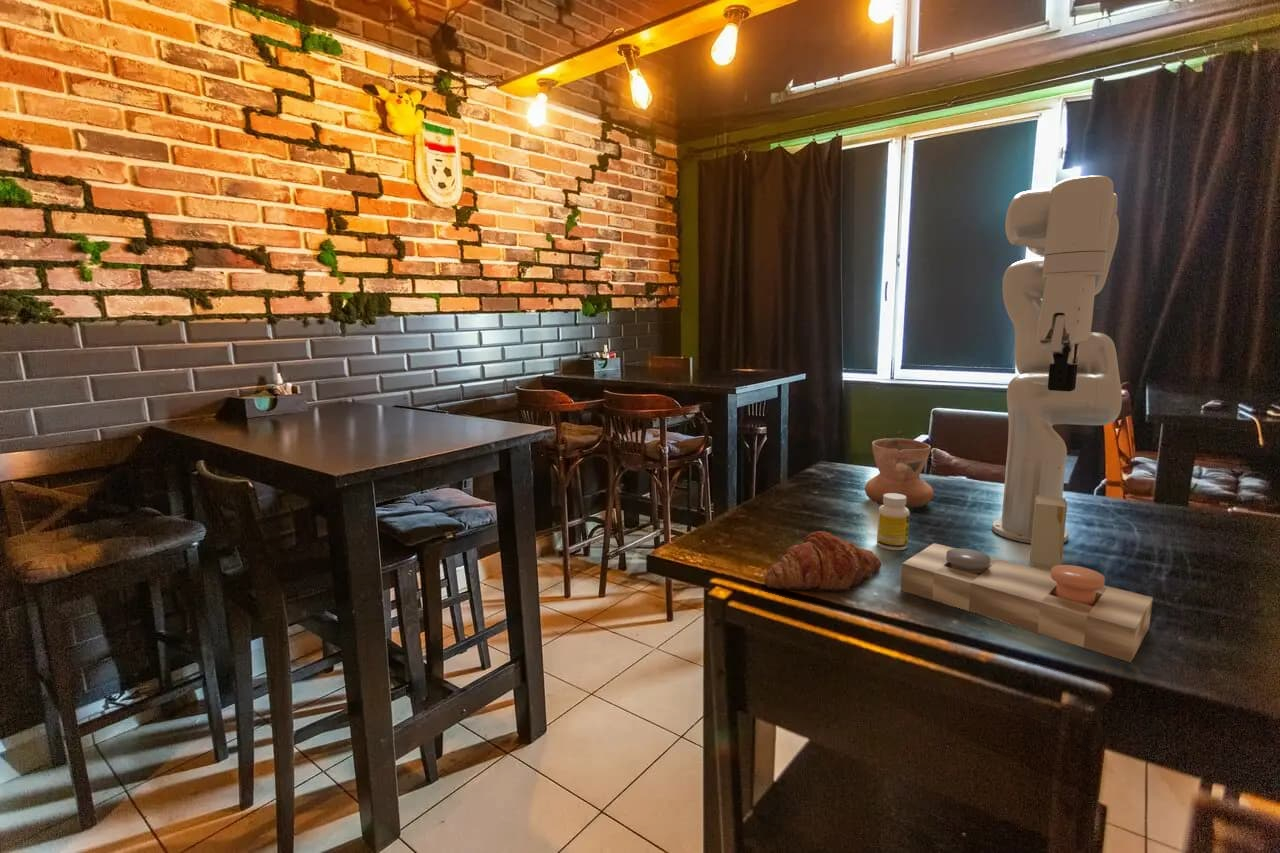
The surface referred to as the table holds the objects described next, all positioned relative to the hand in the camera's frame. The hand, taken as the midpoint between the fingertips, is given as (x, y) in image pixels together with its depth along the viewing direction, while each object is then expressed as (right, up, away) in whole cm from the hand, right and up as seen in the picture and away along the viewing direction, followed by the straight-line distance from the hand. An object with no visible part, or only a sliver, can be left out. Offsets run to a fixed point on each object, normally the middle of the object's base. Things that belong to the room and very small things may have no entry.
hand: (1061, 390), depth 93 cm
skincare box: (+4, -30, +10) cm, 32 cm away
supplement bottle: (-17, -28, +22) cm, 39 cm away
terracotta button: (-4, -31, -8) cm, 33 cm away
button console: (-9, -32, -3) cm, 34 cm away
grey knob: (-14, -31, +2) cm, 34 cm away
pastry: (-34, -31, +9) cm, 47 cm away
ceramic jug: (-5, -23, +47) cm, 53 cm away
